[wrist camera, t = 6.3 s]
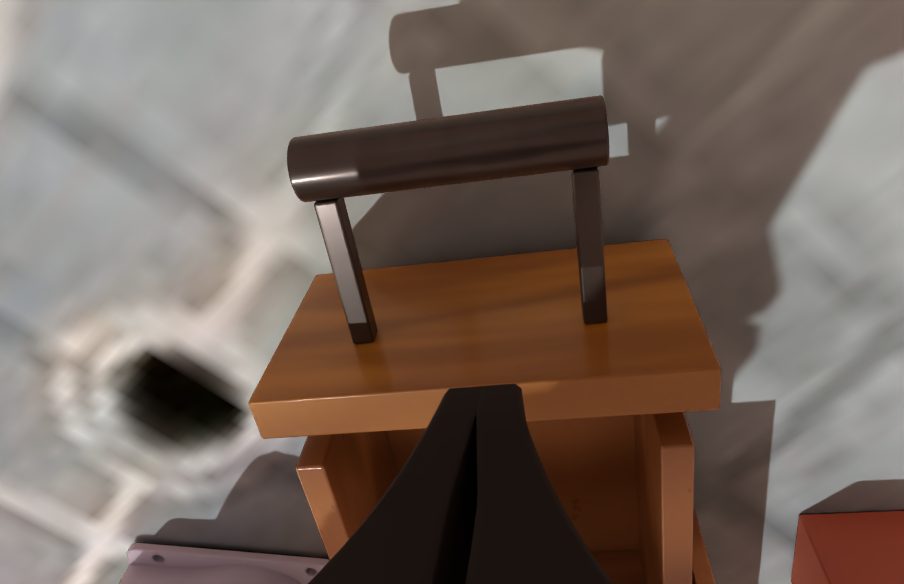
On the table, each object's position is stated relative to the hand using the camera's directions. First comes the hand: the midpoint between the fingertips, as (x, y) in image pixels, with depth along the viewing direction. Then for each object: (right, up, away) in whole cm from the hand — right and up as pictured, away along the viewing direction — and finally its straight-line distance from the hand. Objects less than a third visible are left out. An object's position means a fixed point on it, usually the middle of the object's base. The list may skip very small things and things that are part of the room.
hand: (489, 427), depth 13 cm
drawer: (+1, 0, +10) cm, 10 cm away
